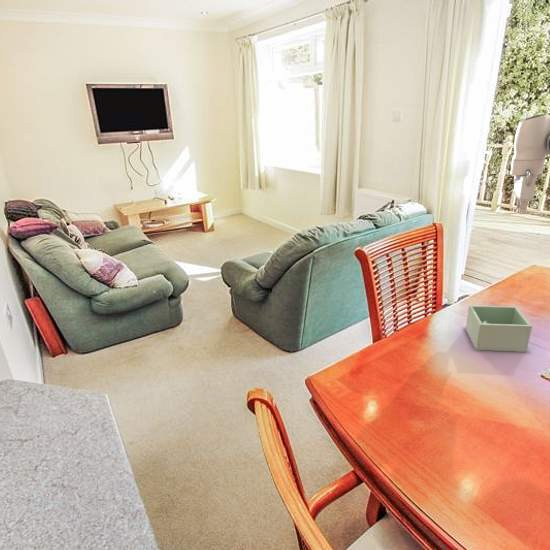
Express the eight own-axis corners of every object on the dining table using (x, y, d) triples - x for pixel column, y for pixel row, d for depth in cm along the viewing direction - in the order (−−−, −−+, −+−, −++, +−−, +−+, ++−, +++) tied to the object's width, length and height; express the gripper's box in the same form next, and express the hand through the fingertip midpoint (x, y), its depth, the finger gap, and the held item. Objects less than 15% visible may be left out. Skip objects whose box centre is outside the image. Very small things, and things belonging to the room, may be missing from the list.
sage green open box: (511, 330, 120) (516, 306, 116) (526, 351, 109) (532, 326, 106) (465, 328, 122) (469, 305, 119) (475, 349, 112) (479, 324, 109)
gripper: (543, 171, 112) (535, 216, 116) (534, 166, 129) (528, 206, 133) (518, 171, 115) (512, 216, 119) (513, 166, 132) (507, 206, 136)
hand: (520, 211), depth 126 cm, fingers open, 8 cm apart
